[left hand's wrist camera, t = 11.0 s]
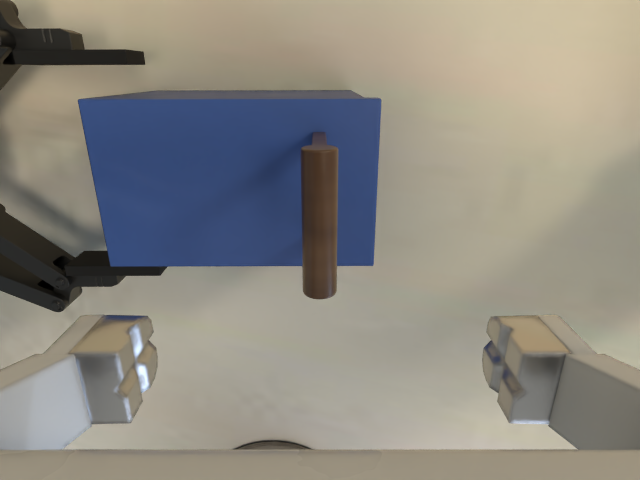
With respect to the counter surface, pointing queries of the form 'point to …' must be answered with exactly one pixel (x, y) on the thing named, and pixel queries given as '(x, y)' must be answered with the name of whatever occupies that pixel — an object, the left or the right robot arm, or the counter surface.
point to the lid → (237, 182)
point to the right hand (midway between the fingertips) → (153, 168)
